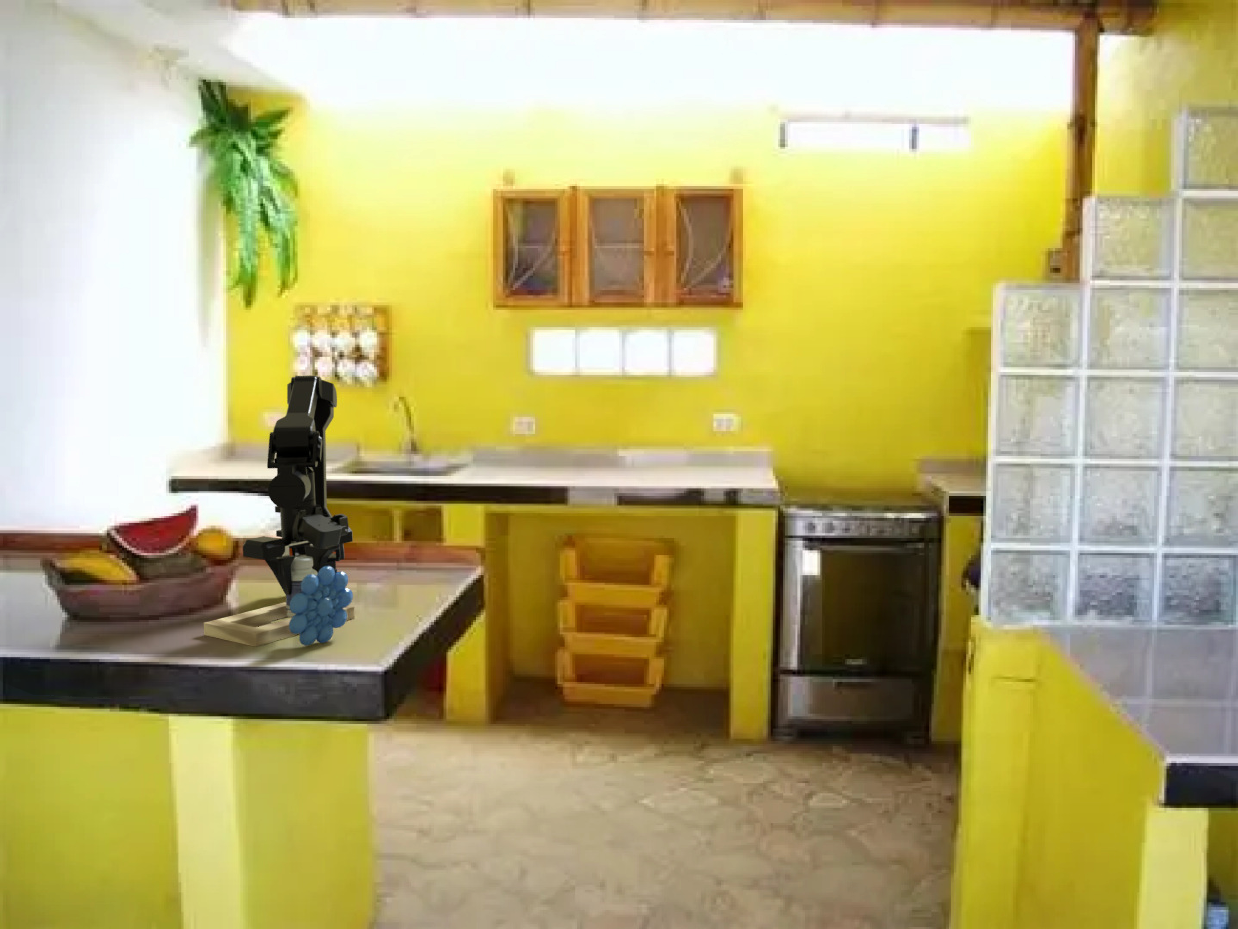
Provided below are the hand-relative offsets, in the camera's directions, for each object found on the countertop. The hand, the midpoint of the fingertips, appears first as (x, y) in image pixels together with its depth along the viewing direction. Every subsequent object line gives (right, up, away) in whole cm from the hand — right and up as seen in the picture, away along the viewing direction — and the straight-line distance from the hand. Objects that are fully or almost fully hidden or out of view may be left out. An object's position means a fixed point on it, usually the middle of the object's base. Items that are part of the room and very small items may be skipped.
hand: (301, 591), depth 179 cm
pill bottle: (0, -4, 0) cm, 4 cm away
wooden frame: (-2, -5, -3) cm, 7 cm away
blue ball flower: (+7, -7, -13) cm, 16 cm away
